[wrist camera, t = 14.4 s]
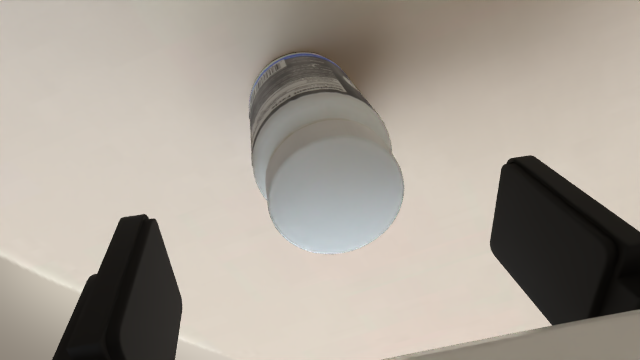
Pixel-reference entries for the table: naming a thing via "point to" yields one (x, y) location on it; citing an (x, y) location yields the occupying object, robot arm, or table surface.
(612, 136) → the table surface
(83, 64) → the table surface
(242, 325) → the table surface
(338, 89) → the pill bottle
